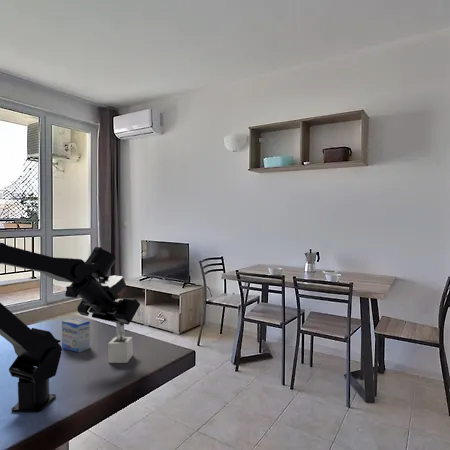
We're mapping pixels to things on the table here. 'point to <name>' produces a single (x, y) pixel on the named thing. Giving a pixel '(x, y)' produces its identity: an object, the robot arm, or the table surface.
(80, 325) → the medicine box
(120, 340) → the plunger
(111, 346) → the press block
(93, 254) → the robot arm
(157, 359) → the table surface
